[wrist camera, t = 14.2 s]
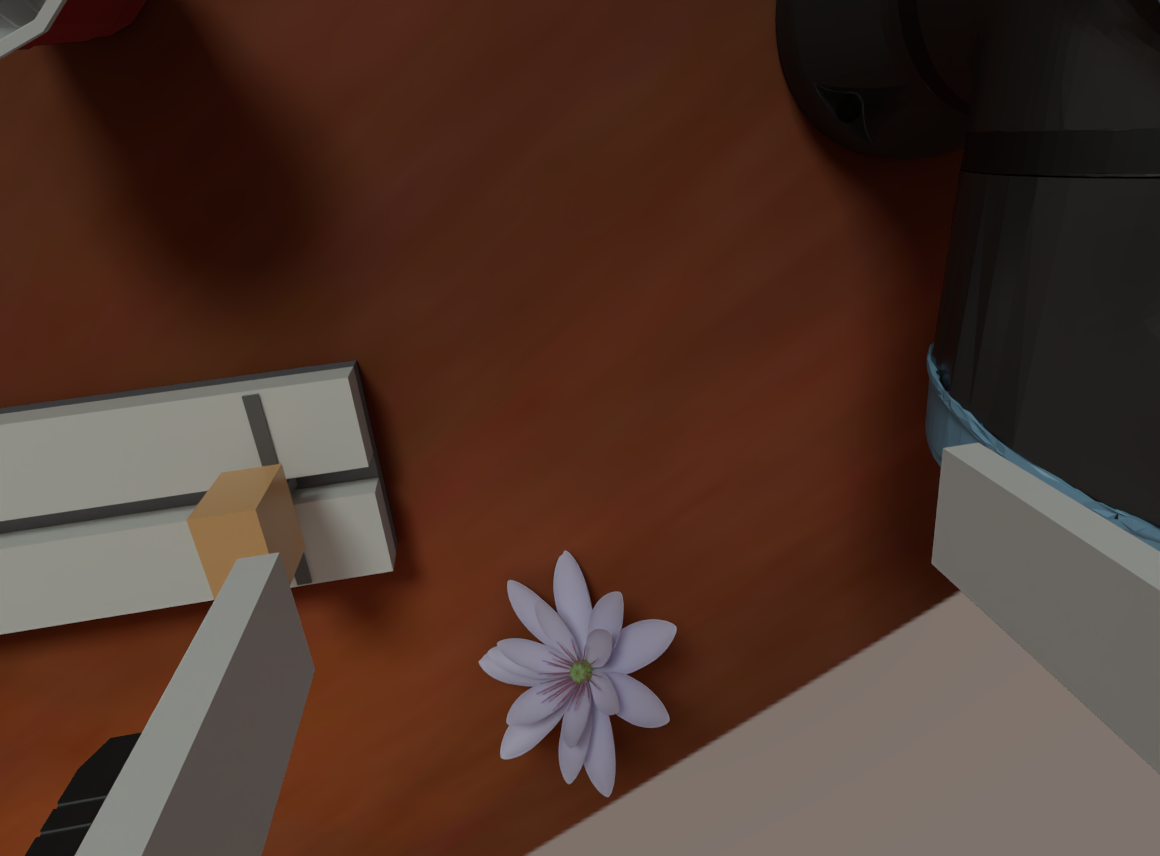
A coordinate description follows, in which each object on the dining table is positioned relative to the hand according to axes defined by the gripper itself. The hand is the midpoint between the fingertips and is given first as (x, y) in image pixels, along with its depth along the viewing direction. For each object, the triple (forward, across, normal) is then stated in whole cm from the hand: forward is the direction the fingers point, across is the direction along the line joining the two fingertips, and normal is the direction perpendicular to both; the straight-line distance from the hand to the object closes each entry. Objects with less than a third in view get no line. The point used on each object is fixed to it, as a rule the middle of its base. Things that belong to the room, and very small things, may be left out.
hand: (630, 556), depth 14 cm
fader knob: (+27, -15, -9) cm, 33 cm away
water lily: (+29, 0, -23) cm, 37 cm away
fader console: (+29, -23, -9) cm, 38 cm away
